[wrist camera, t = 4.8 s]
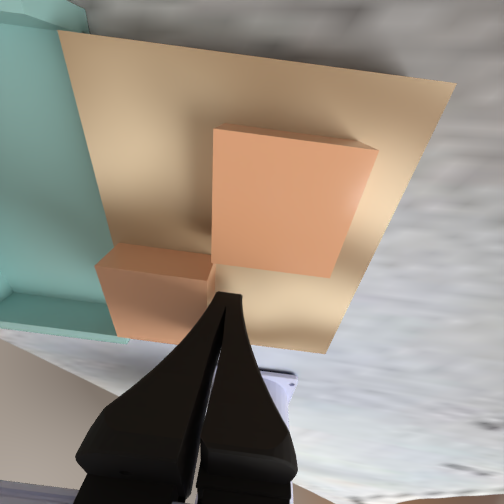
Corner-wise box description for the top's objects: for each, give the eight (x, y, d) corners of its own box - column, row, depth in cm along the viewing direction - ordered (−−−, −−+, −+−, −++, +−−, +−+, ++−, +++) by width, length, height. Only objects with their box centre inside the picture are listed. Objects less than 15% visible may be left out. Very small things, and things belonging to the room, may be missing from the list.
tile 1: (321, 252, 11) (330, 278, 10) (219, 238, 11) (210, 263, 10) (358, 140, 9) (379, 150, 7) (224, 123, 9) (213, 128, 7)
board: (318, 324, 18) (325, 354, 16) (151, 303, 18) (135, 329, 16) (416, 87, 10) (456, 83, 8) (103, 45, 10) (57, 29, 7)
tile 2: (213, 320, 15) (206, 348, 13) (135, 309, 15) (117, 336, 13) (216, 255, 12) (207, 281, 10) (119, 242, 12) (94, 265, 10)
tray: (146, 310, 18) (127, 344, 16) (14, 294, 18) (-27, 324, 16) (84, 9, 9) (12, -26, 6) (-187, -28, 9) (-366, -78, 6)
